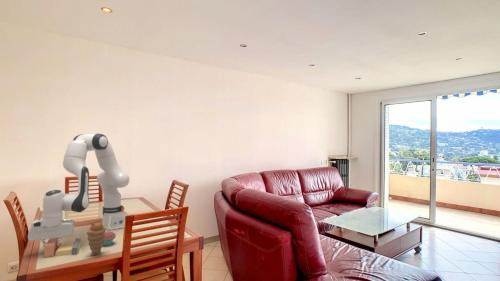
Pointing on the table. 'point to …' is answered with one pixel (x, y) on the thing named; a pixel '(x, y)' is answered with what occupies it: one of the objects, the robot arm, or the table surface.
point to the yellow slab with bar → (69, 248)
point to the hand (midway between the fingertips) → (51, 245)
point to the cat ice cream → (96, 237)
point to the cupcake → (109, 237)
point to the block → (50, 247)
